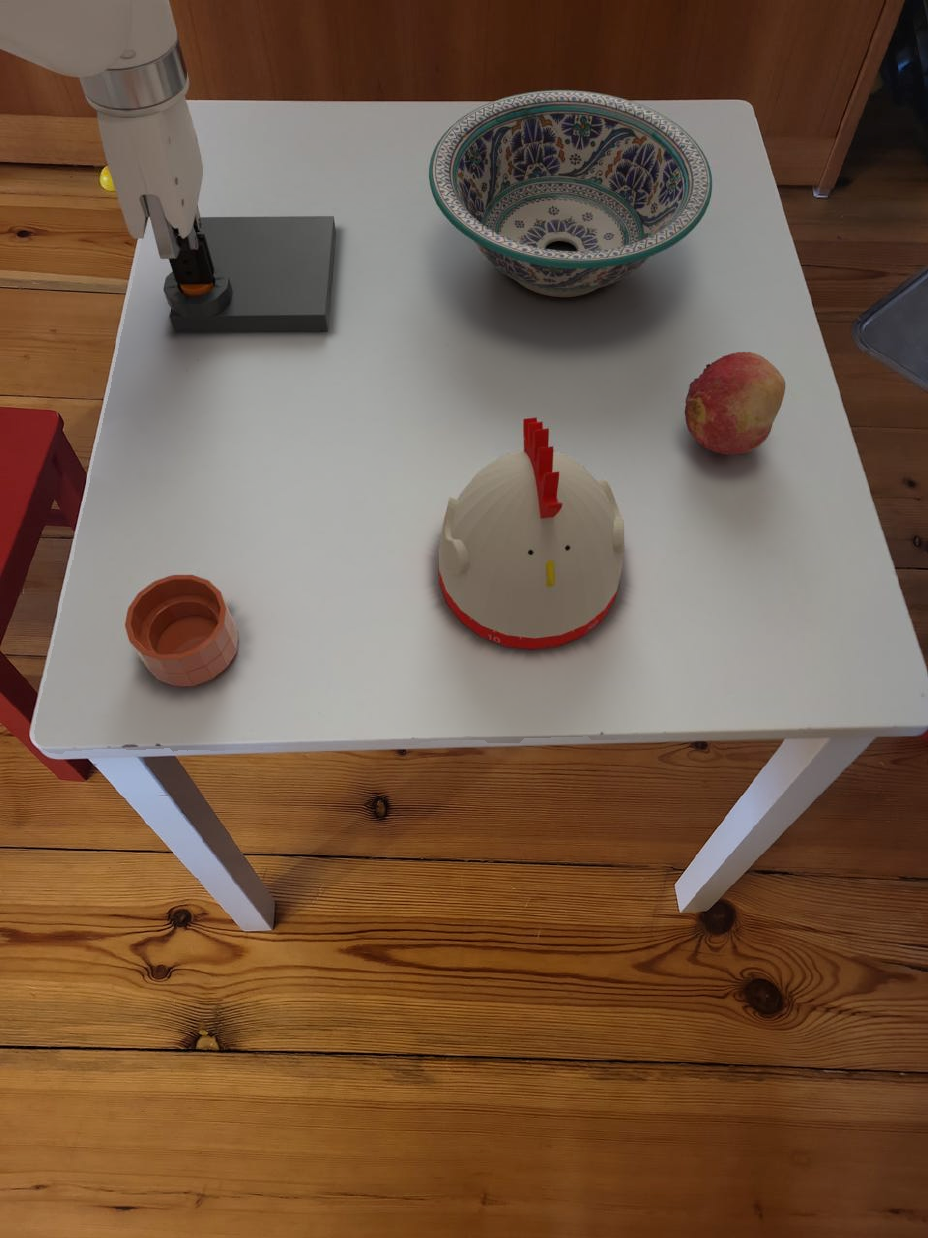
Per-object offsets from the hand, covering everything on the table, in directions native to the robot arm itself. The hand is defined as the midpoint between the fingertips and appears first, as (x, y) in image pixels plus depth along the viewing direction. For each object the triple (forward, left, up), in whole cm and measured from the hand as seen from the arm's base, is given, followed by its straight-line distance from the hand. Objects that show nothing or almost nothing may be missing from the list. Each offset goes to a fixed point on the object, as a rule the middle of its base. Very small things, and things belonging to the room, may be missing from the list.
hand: (196, 277), depth 81 cm
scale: (+4, +4, -4) cm, 7 cm away
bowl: (+33, +7, -4) cm, 34 cm away
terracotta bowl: (+3, -36, -4) cm, 36 cm away
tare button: (0, 0, -2) cm, 2 cm away
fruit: (+45, -16, -4) cm, 48 cm away
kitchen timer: (+28, -29, -4) cm, 41 cm away
